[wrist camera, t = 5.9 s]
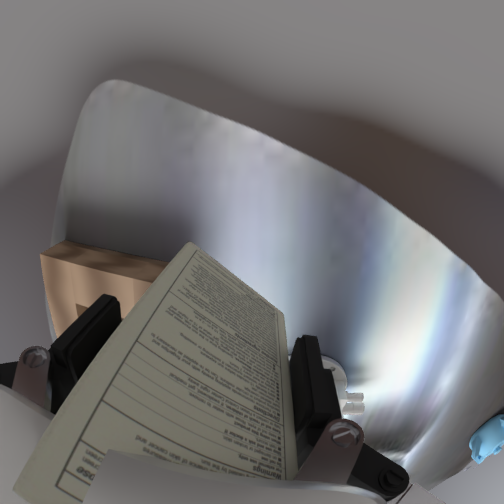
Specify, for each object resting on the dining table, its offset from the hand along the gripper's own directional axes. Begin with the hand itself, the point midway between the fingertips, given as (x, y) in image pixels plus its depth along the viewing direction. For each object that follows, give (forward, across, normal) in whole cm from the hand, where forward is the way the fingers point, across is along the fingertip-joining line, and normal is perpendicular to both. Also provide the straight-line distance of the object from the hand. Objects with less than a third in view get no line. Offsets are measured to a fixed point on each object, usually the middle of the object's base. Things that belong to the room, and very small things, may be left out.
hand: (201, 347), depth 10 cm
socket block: (+17, +13, +14) cm, 26 cm away
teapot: (+19, -77, +43) cm, 90 cm away
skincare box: (+4, 0, 0) cm, 4 cm away
